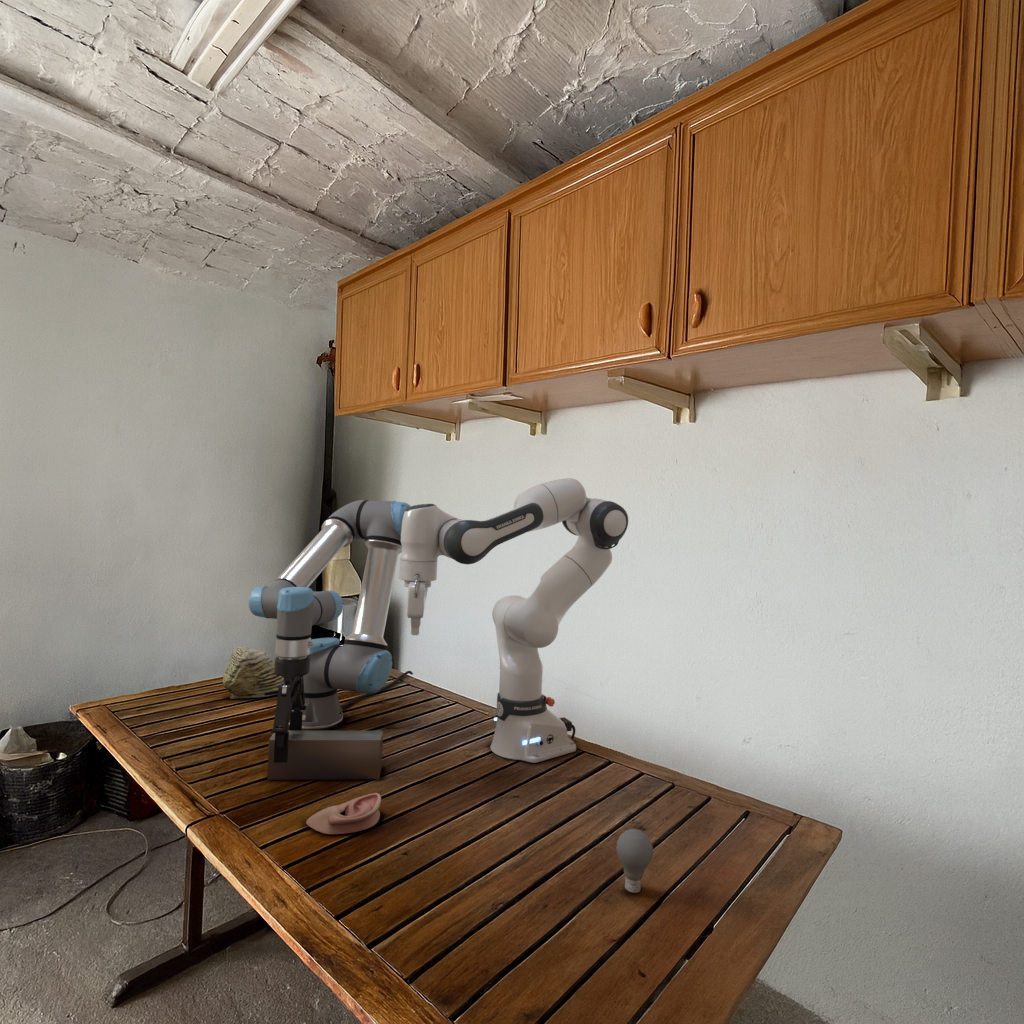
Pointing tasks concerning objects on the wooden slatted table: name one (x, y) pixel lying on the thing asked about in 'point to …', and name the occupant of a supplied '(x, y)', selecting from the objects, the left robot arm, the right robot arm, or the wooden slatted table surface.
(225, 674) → the fossil
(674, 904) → the wooden slatted table surface
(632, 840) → the light bulb
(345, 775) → the bar
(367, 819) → the anatomical model
